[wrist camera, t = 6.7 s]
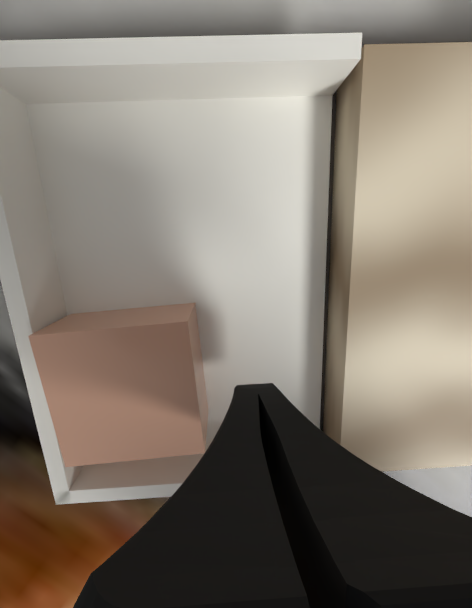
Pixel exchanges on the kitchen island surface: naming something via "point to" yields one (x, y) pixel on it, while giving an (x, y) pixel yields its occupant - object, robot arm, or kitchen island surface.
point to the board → (402, 259)
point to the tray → (171, 210)
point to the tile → (124, 383)
